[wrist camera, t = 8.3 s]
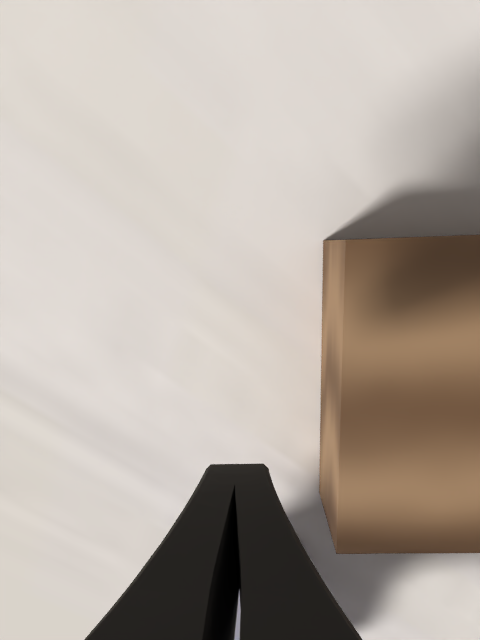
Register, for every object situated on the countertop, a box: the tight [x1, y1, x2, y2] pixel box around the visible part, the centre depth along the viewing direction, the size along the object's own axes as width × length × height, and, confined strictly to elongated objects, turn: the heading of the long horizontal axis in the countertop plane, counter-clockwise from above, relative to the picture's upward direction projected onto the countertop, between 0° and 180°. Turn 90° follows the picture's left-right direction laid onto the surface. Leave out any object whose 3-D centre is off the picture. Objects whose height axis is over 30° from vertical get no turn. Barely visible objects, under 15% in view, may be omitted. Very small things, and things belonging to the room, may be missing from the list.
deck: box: [319, 235, 480, 554], centre depth 16 cm, size 14×10×4 cm
